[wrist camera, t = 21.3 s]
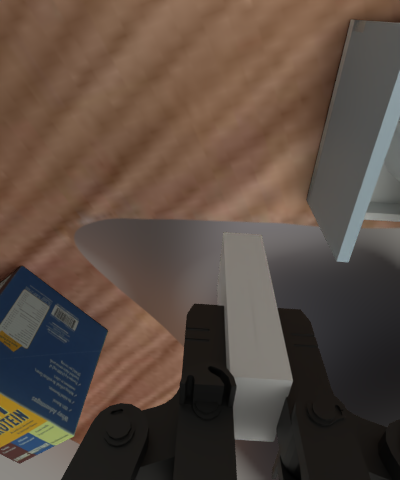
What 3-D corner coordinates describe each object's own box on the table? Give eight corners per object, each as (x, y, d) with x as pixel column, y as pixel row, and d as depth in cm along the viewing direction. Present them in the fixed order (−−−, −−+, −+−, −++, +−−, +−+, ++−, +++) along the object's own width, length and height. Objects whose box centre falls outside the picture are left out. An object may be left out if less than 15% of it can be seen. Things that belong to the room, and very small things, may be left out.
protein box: (64, 359, 56) (19, 465, 43) (-23, 300, 50) (-107, 404, 37) (110, 330, 52) (76, 437, 39) (21, 263, 46) (-54, 364, 33)
